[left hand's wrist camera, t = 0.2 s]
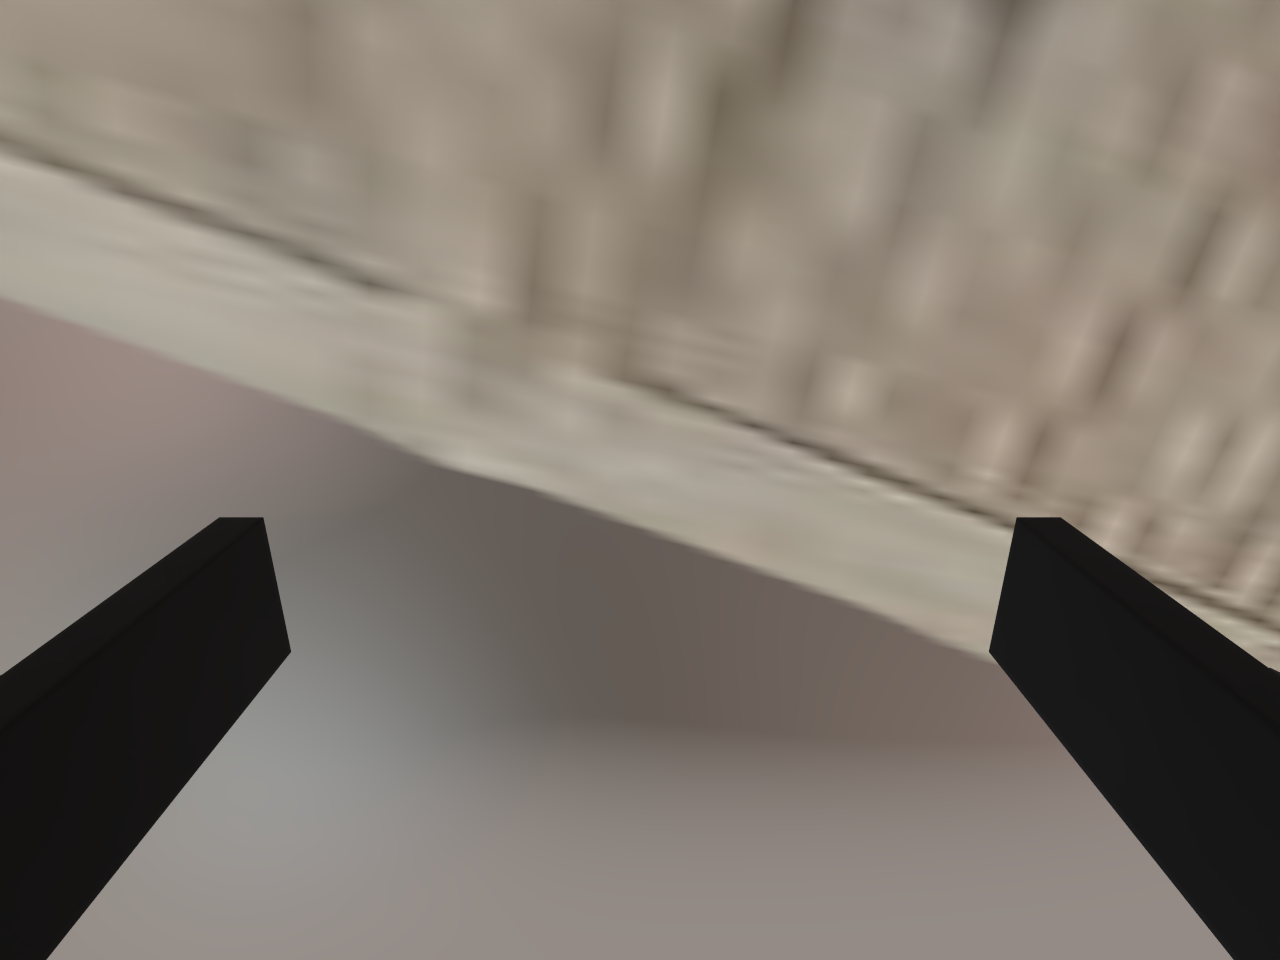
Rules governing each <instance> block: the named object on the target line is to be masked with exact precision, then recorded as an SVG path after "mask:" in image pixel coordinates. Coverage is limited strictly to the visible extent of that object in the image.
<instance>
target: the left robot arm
mask: <svg viewBox="0 0 1280 960" xmlns="http://www.w3.org/2000/svg"><path fill="white" fill-rule="evenodd" d="M290 653H291V649H290V644H289V639H288V634H287V630H286V625H285V620H284V615H283V610H282V605H281V601H280V596H279V591H278V586H277V581H276V576H275V572H274V567H273V562H272V557H271V552H270V547H269V543H268V538H267V533H266V528H265V523H264V518H263V517H220V518H218V519H217V520H215V521H214V522H213V523H211V524H210V525H208V526H207V527H206V528H204V529H203V530H201V531H200V532H199V533H197V534H196V535H194V536H193V537H192V538H190V539H189V540H188V541H186V542H185V543H183V544H182V545H181V546H179V547H178V548H177V549H175V550H174V551H172V552H171V553H170V554H168V555H167V556H165V557H164V558H163V559H161V560H160V561H159V562H157V563H156V564H154V565H153V566H152V567H150V568H149V569H148V570H146V571H145V572H143V573H142V574H141V575H139V576H138V577H136V578H135V579H134V580H132V581H131V582H130V583H128V584H127V585H125V586H124V587H123V588H121V589H120V590H119V591H117V592H116V593H114V594H113V595H112V596H110V597H109V598H108V599H106V600H105V601H103V602H102V603H101V604H99V605H98V606H96V607H95V608H94V609H92V610H91V611H90V612H88V613H87V614H85V615H84V616H83V617H81V618H80V619H79V620H77V621H76V622H74V623H73V624H72V625H70V626H69V627H67V628H66V629H65V630H63V631H62V632H61V633H59V634H58V635H56V636H55V637H54V638H52V639H51V640H49V641H48V642H47V643H45V644H44V645H43V646H41V647H40V648H38V649H37V650H36V651H34V652H33V653H32V654H30V655H29V656H27V657H26V658H25V659H23V660H22V661H21V662H19V663H18V664H16V665H15V666H14V667H12V668H11V669H9V670H8V671H7V672H5V673H4V674H3V675H0V960H46V959H47V958H48V957H49V956H50V954H51V953H52V952H53V951H54V949H55V948H56V947H57V946H58V944H59V943H60V942H61V941H62V939H63V938H64V937H65V936H66V934H67V933H68V932H69V930H70V929H71V928H72V927H73V926H74V924H75V923H76V922H77V920H78V919H79V918H80V917H81V915H82V914H83V913H84V912H85V910H86V909H87V908H88V907H89V905H90V904H91V903H92V902H93V900H94V899H95V898H96V897H97V895H98V894H99V893H100V892H101V890H102V889H103V888H104V886H105V885H106V884H107V883H108V881H109V880H110V879H111V878H112V876H113V875H114V874H115V873H116V871H117V870H118V869H119V868H120V866H121V865H122V864H123V862H124V861H125V860H126V859H127V858H128V856H129V855H130V854H131V853H132V851H133V850H134V849H135V847H136V846H137V845H138V844H139V842H140V841H141V840H142V839H143V837H144V836H145V835H146V834H147V832H148V831H149V830H150V829H151V827H152V826H153V825H154V824H155V822H156V821H157V820H158V819H159V817H160V816H161V815H162V814H163V812H164V811H165V810H166V809H167V807H168V806H169V805H170V803H171V802H172V801H173V800H174V798H175V797H176V796H177V795H178V793H179V792H180V791H181V790H182V788H183V787H184V786H185V785H186V783H187V782H188V781H189V780H190V778H191V777H192V776H193V775H194V773H195V772H196V771H197V770H198V768H199V767H200V766H201V764H202V763H203V762H204V761H205V759H206V758H207V757H208V756H209V754H210V753H211V752H212V751H213V749H214V748H215V747H216V746H217V744H218V743H219V742H220V740H221V739H222V738H223V737H224V735H225V734H226V733H227V732H228V730H229V729H230V728H231V727H232V725H233V724H234V723H235V722H236V720H237V719H238V718H239V717H240V715H241V714H242V713H243V712H244V710H245V709H246V708H247V707H248V705H249V704H250V703H251V701H252V700H253V699H254V698H255V697H256V695H257V694H258V693H259V691H260V690H261V689H262V688H263V686H264V685H265V684H266V683H267V681H268V680H269V679H270V678H271V676H272V675H273V674H274V673H275V671H276V670H277V669H278V668H279V666H280V665H281V664H282V663H283V661H284V660H285V659H286V658H287V656H288V655H289V654H290ZM989 653H990V654H991V655H992V656H993V658H994V659H995V660H996V661H997V663H998V664H999V665H1000V666H1001V668H1002V669H1003V670H1004V671H1005V673H1006V674H1007V675H1008V676H1009V678H1010V679H1011V680H1012V681H1013V683H1014V684H1015V685H1016V686H1017V688H1018V689H1019V690H1020V692H1021V693H1022V694H1023V695H1024V697H1025V698H1026V699H1027V700H1028V702H1029V703H1030V704H1031V705H1032V706H1033V708H1034V709H1035V710H1036V712H1037V713H1038V714H1039V715H1040V717H1041V718H1042V719H1043V720H1044V722H1045V723H1046V724H1047V725H1048V727H1049V728H1050V729H1051V731H1052V732H1053V733H1054V734H1055V736H1056V737H1057V738H1058V739H1059V741H1060V742H1061V743H1062V744H1063V746H1064V747H1065V748H1066V749H1067V751H1068V752H1069V753H1070V754H1071V756H1072V757H1073V758H1074V759H1075V761H1076V762H1077V763H1078V764H1079V766H1080V767H1081V768H1082V770H1083V771H1084V772H1085V773H1086V775H1087V776H1088V777H1089V778H1090V780H1091V781H1092V782H1093V783H1094V785H1095V786H1096V787H1097V788H1098V790H1099V791H1100V792H1101V793H1102V795H1103V796H1104V797H1105V798H1106V800H1107V801H1108V802H1109V803H1110V805H1111V806H1112V807H1113V809H1114V810H1115V811H1116V812H1117V814H1118V815H1119V816H1120V817H1121V818H1122V820H1123V821H1124V822H1125V823H1126V825H1127V826H1128V827H1129V829H1130V830H1131V831H1132V832H1133V834H1134V835H1135V836H1136V837H1137V839H1138V840H1139V841H1140V842H1141V844H1142V845H1143V846H1144V848H1145V849H1146V850H1147V851H1148V853H1149V854H1150V855H1151V856H1152V858H1153V859H1154V860H1155V861H1156V863H1157V864H1158V865H1159V866H1160V868H1161V869H1162V870H1163V871H1164V873H1165V874H1166V875H1167V876H1168V878H1169V879H1170V880H1171V881H1172V883H1173V884H1174V885H1175V887H1176V888H1177V889H1178V890H1179V891H1180V893H1181V894H1182V895H1183V897H1184V898H1185V899H1186V900H1187V902H1188V903H1189V904H1190V905H1191V907H1192V908H1193V909H1194V910H1195V912H1196V913H1197V914H1198V915H1199V917H1200V918H1201V919H1202V920H1203V922H1204V923H1205V924H1206V925H1207V927H1208V928H1209V929H1210V930H1211V932H1212V933H1213V934H1214V936H1215V937H1216V938H1217V939H1218V941H1219V942H1220V943H1221V944H1222V946H1223V947H1224V948H1225V949H1226V951H1227V952H1228V953H1229V954H1230V956H1231V957H1232V958H1233V959H1234V960H1280V672H1278V671H1276V670H1274V669H1272V668H1268V667H1266V666H1265V665H1264V664H1262V663H1261V662H1260V661H1258V660H1257V659H1255V658H1254V657H1253V656H1251V655H1250V654H1248V653H1247V652H1246V651H1244V650H1243V649H1242V648H1240V647H1239V646H1237V645H1236V644H1235V643H1233V642H1232V641H1231V640H1229V639H1228V638H1226V637H1225V636H1224V635H1222V634H1221V633H1219V632H1218V631H1217V630H1215V629H1214V628H1213V627H1211V626H1210V625H1208V624H1207V623H1206V622H1204V621H1203V620H1202V619H1200V618H1199V617H1197V616H1196V615H1195V614H1193V613H1192V612H1190V611H1189V610H1188V609H1186V608H1185V607H1184V606H1182V605H1181V604H1179V603H1178V602H1177V601H1175V600H1174V599H1173V598H1171V597H1170V596H1168V595H1167V594H1166V593H1164V592H1163V591H1161V590H1160V589H1159V588H1157V587H1156V586H1155V585H1153V584H1152V583H1150V582H1149V581H1148V580H1146V579H1145V578H1144V577H1142V576H1141V575H1139V574H1138V573H1137V572H1135V571H1134V570H1132V569H1131V568H1130V567H1128V566H1127V565H1126V564H1124V563H1123V562H1121V561H1120V560H1119V559H1117V558H1116V557H1115V556H1113V555H1112V554H1110V553H1109V552H1108V551H1106V550H1105V549H1103V548H1102V547H1101V546H1099V545H1098V544H1097V543H1095V542H1094V541H1092V540H1091V539H1090V538H1088V537H1087V536H1086V535H1084V534H1083V533H1081V532H1080V531H1079V530H1077V529H1076V528H1074V527H1073V526H1072V525H1070V524H1069V523H1068V522H1066V521H1065V520H1063V519H1062V518H1061V517H1017V518H1016V523H1015V528H1014V533H1013V538H1012V542H1011V547H1010V552H1009V557H1008V562H1007V567H1006V571H1005V576H1004V581H1003V586H1002V591H1001V596H1000V600H999V605H998V610H997V615H996V620H995V625H994V629H993V634H992V639H991V644H990V649H989Z"/></svg>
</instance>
